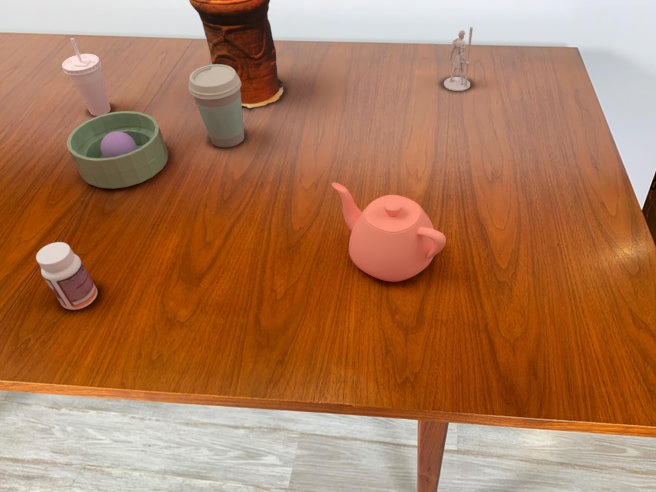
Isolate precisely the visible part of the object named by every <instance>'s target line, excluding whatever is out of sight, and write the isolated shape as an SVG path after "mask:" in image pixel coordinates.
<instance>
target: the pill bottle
mask: <svg viewBox="0 0 656 492" xmlns="http://www.w3.org/2000/svg"><path fill="white" fill-rule="evenodd" d="M35 260H36V262H37V263H38V265H39V267H40V273H41V276H42V278H43V279H44V281H45V282H46V283H47V285H48V286H49V289H50V290H51V291H52V293H53V294H54V296H55V297H56V298H57V301H58V302H59V303H60V305H61V307H62V308H65V310H66V309H67V310H72V311H76V310H81V309H84V308H85V307H88V306H89V305H90V304H92V303H93V302H94V301H95V300H96V298H97V296H98V289H97V287H96V285H95V282H94V281H93V279H92V278H91V276H90V274H89V271H88V270H87V269H86V267H85V265H84V263H83V262H82V260H81V258H80V257H79V255H78V254H76V253H74V251H73V250H72V248H71V246H70V245H69V244H68V243H66V242H63V241H56V242H51V243H48V244H46V245H45V246H43V247H42V248H40V249H39V251H38V252H37V253H36V254H35Z"/></svg>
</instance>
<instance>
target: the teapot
mask: <svg viewBox="0 0 656 492" xmlns="http://www.w3.org/2000/svg"><path fill="white" fill-rule="evenodd" d="M331 186H332V188H333V189H334V190H335V191H336V192H337V193H338V195H339V197H340V199H341V203H342V212H343V218H344V222H345V224H346V226H347V228H348V229H349V230H350V237H349V243H348V254H349V257H350V259H351V261H352V262H353V264H354V265H355V266H356V267H357V268H358V269H360V270H361V271H362V272H364V273H365V274H367V275H369V276H371V277H373V278H376V279H378V280H381V281H384V282H391V283H392V282H393V283H396V282H402V281H406V280H409V279H411V278H412V277H415V276H416V275H418V274H419V273H421V272H422V271H423V270H425V269H426V268H427V267H428V266H429V265H430V264H431V262H432V261H433V259H434V257H435V256H436V255H438V253H440V252H441V251H442V250H443V249H444V248H445V246H446V242H447V238H446V236H445V235H444V233H443V232H441V231H439V230H437V229H435V228H434V225H433V223H432V221H431V219H430V217H429V216H428V215H427V213H426V211H425V210H424V209H423V208H422V207H421V205H420V204H418V203H417V202H416V201H414V200H413V199H411V198H408V197H406V196H402V195H398V194H387V195H382V196H380V197H378V198H376V199H374V200H373V201H371V202H370V203H369V204H368V205H367V206H366V207H365V208H364V209H363V211H362V210H361V209H360V208H358V206H357V205H356V203H355V201H354V199H353V196H352V194H351V192H350V191H349V190H348V188H346V187H345V186H344V185H343V184H340V183H338V182H332V183H331Z"/></svg>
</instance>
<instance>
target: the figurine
mask: <svg viewBox="0 0 656 492" xmlns="http://www.w3.org/2000/svg"><path fill="white" fill-rule="evenodd" d="M473 28H474V27H473V26H470V27H469V34H468V46H467V42H466V41H465V40H464V39H465V36H466V32H465V30H462V29H461V30H459V32H458V38H455V39H453V40H452V46H451V49H450V53H449V57H448V60H449V61H452V60H453V55H454V53H455V51H456V54H455V57H454V60H453V62H452V66H453V68H452V70H451V74H450V77H448V78H447V79H445V80H444V81H443V86H444V88H445V89H447V90H449V91H452V92H464V91H467V90H468V89H470V87H471V82H470V80H468V75H469V66H470V57H471V47H472V38H473ZM467 48H468V49H467ZM466 49H467V56H466V57H467V58H466V57H465V51H466ZM465 65H466V67H465ZM457 69H459V71H460V74H459V76H455V75H456V71H457ZM464 76H465V77H464Z"/></svg>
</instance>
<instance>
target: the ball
mask: <svg viewBox="0 0 656 492" xmlns="http://www.w3.org/2000/svg"><path fill="white" fill-rule="evenodd" d="M136 149H137V146H136V143H135V141H134V140H133V138H132V137H130V136H129V135H128V134H126V133H123V132H117V131H116V132H111V133H109V134H107V135H106V136H105V137H104V138H103V140H102V142H101V152H102V155H103V156H104V158H110V157H116V156H120V155H124V154H127V153H130V152H132V151H134V150H136Z"/></svg>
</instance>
